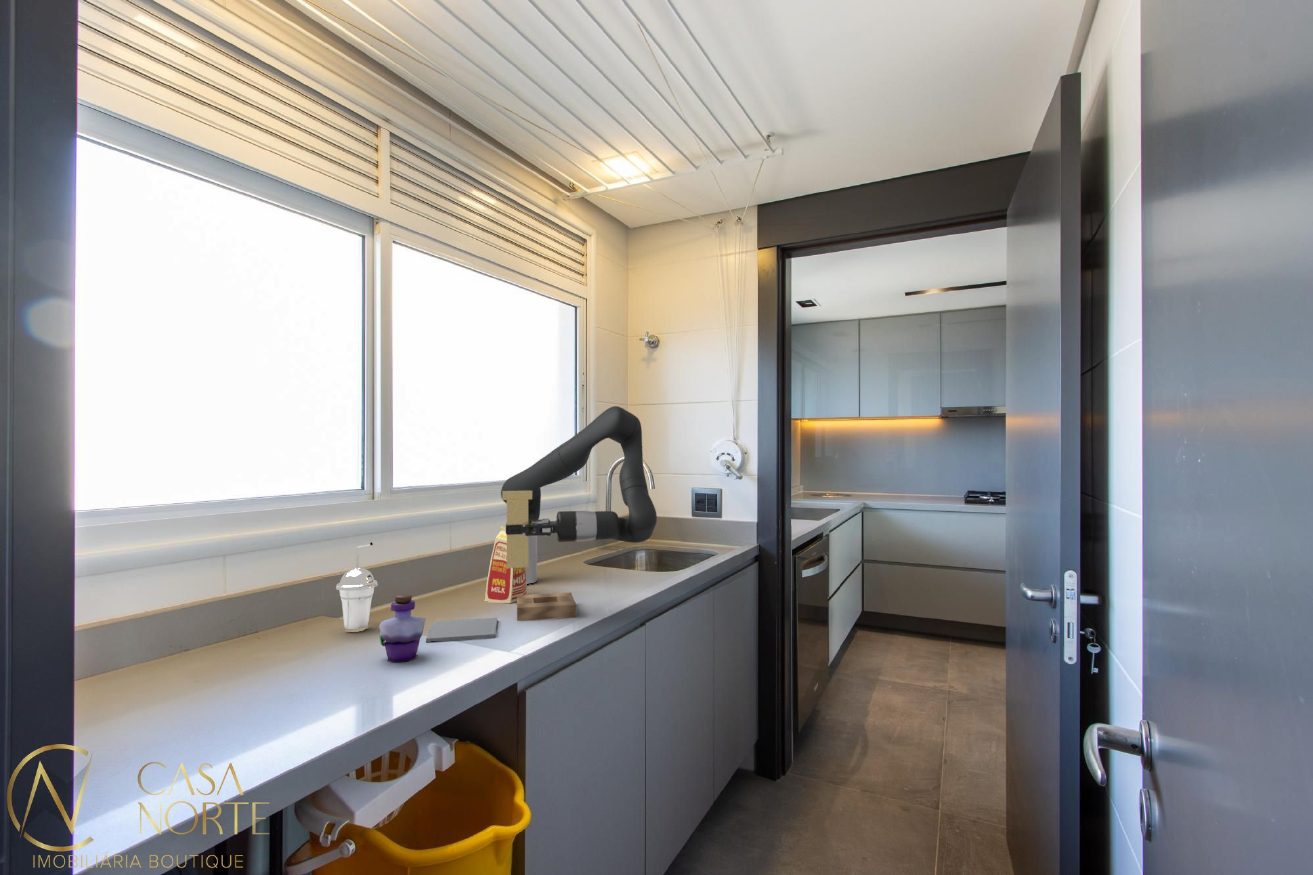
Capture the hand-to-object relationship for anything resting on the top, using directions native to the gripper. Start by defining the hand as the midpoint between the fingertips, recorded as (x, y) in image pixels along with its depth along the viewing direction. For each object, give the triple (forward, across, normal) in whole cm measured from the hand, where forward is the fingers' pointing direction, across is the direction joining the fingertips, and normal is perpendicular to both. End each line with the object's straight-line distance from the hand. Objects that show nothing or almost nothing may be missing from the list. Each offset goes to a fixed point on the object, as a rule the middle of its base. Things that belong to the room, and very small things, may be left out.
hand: (506, 528), depth 144 cm
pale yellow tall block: (-3, 0, +9) cm, 9 cm away
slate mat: (+9, +7, +22) cm, 25 cm away
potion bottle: (+19, +24, +22) cm, 38 cm away
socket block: (-10, -6, +22) cm, 24 cm away
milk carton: (-1, -22, +22) cm, 31 cm away
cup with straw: (+33, +1, +22) cm, 39 cm away
